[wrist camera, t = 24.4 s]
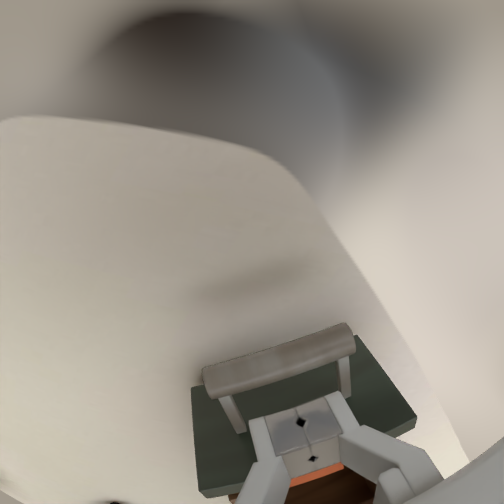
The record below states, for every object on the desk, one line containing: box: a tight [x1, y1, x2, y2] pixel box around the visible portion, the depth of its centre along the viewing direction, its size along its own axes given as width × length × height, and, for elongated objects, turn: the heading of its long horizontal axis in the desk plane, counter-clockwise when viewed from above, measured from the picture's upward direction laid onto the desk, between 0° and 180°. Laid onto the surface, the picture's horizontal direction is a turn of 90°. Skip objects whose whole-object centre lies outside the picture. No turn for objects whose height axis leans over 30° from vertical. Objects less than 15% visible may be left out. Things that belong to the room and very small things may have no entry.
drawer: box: [191, 323, 417, 504], centre depth 18 cm, size 19×12×8 cm, turn 14°
